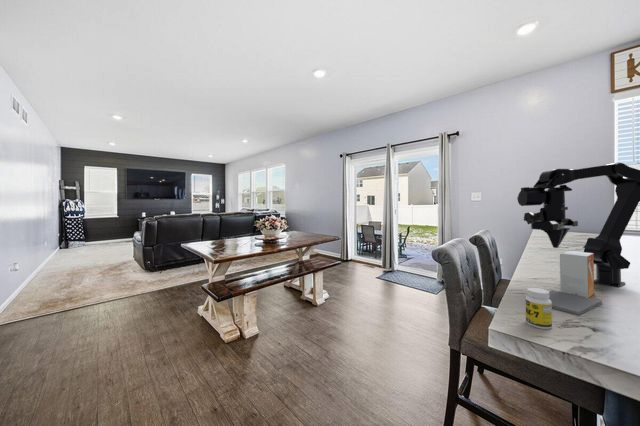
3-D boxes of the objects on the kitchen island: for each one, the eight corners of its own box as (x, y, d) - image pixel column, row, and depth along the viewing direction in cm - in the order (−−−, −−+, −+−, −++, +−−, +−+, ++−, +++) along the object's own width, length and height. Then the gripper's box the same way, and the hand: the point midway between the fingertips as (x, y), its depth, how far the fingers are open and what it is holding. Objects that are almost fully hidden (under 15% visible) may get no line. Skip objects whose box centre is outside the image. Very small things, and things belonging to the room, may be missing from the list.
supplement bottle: (520, 321, 62) (519, 287, 62) (538, 319, 63) (537, 286, 62) (539, 330, 57) (538, 294, 57) (557, 328, 58) (557, 292, 58)
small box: (588, 299, 74) (587, 256, 74) (559, 294, 79) (558, 253, 79) (594, 294, 78) (594, 252, 78) (567, 289, 84) (566, 250, 83)
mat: (552, 292, 81) (552, 290, 81) (601, 303, 71) (601, 300, 71) (528, 301, 74) (528, 299, 74) (578, 315, 64) (578, 312, 64)
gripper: (540, 204, 101) (542, 242, 101) (513, 206, 93) (515, 247, 94) (577, 203, 91) (579, 245, 91) (551, 205, 83) (553, 251, 83)
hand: (555, 247), depth 90 cm, fingers closed
